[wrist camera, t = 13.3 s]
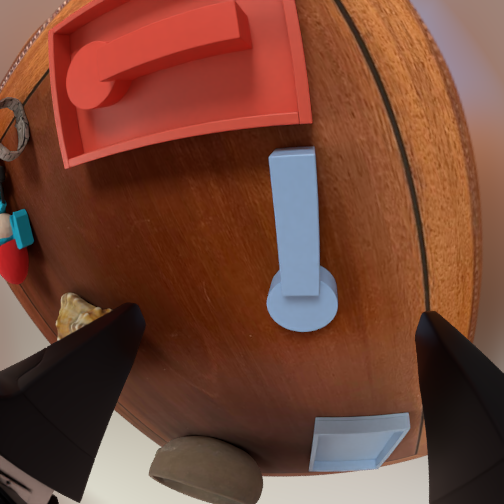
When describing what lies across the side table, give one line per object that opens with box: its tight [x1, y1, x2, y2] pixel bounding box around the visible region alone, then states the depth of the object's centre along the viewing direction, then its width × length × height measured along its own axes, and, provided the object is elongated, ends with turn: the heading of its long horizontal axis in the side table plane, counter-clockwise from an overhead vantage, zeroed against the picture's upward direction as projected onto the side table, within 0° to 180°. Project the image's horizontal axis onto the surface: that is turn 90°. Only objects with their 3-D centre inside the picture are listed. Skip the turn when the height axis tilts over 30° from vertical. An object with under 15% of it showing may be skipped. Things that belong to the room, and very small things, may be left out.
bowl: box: [149, 436, 263, 504], centre depth 34 cm, size 17×18×10 cm
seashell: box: [56, 292, 112, 340], centre depth 23 cm, size 9×8×10 cm
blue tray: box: [309, 412, 410, 472], centre depth 29 cm, size 16×11×2 cm
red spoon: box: [66, 0, 252, 110], centre depth 12 cm, size 12×5×3 cm, turn 97°
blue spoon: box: [267, 146, 338, 332], centre depth 16 cm, size 12×5×3 cm, turn 7°
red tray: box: [48, 0, 313, 169], centre depth 12 cm, size 16×11×2 cm
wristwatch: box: [0, 97, 29, 161], centre depth 15 cm, size 4×6×5 cm, turn 21°
